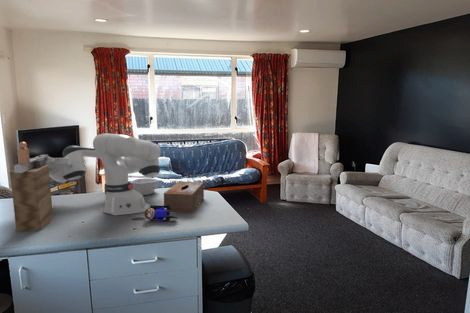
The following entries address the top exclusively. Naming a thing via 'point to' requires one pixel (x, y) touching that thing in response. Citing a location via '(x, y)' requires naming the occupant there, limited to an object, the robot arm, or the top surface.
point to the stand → (32, 197)
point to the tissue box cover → (184, 196)
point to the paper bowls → (145, 185)
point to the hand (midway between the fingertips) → (42, 158)
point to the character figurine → (159, 213)
